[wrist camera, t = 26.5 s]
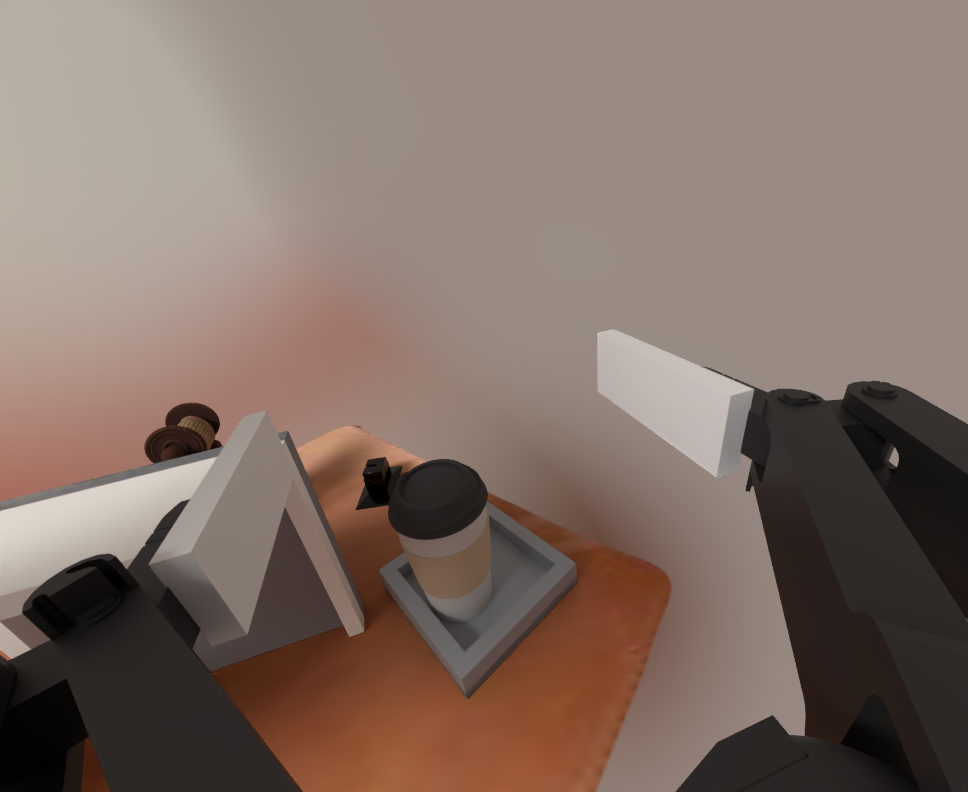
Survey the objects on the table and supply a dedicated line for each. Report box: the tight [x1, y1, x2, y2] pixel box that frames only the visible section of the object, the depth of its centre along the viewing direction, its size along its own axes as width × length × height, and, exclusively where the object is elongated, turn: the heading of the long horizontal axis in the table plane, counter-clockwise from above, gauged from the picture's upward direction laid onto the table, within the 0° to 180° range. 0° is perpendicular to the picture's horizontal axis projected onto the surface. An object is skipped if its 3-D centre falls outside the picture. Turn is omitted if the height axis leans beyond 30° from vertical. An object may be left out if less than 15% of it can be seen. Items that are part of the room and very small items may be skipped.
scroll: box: [145, 403, 222, 464], centre depth 49 cm, size 15×15×20 cm
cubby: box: [0, 431, 365, 672], centre depth 29 cm, size 24×11×22 cm, turn 106°
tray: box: [379, 501, 577, 699], centre depth 41 cm, size 15×15×3 cm
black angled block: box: [356, 457, 402, 510], centre depth 58 cm, size 12×7×5 cm, turn 2°
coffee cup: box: [388, 459, 492, 623], centre depth 36 cm, size 9×9×15 cm
